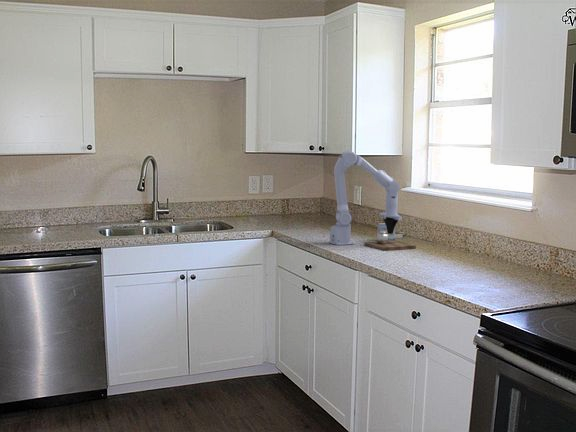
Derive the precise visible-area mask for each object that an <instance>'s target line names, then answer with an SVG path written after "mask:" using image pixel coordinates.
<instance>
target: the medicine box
mask: <svg viewBox="0 0 576 432" xmlns="http://www.w3.org/2000/svg"><path fill="white" fill-rule="evenodd" d="M376 229H377V230H376V231H377V233H376V234H378V233H380V231H385V234H388V232H387V227H386V224H385V222H384V223H380V222H379V223H377V228H376ZM393 234H396V227H395V228H394V231H393ZM393 234H388V235H393ZM390 240H396V238H388V241H390Z"/></svg>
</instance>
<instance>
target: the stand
mask: <svg viewBox="0 0 576 432" xmlns="http://www.w3.org/2000/svg"><path fill="white" fill-rule="evenodd" d="M363 243H364V244H363V245H364V246H365V247H368V248H373V249H375V250H376V249H377V250H380V251H384V252H388V251H389V252H390V251H401V250H415V249H417V248H416V247H417V245H415V244H412V243H407V242H403V241H399V240H396V239H395V240H390V241H388V244H378V243H377V240H376V241H364V242H363Z"/></svg>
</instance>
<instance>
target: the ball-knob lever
mask: <svg viewBox="0 0 576 432" xmlns="http://www.w3.org/2000/svg"><path fill="white" fill-rule="evenodd" d="M376 234H377V233H376ZM376 236H377V237H376V241H377V243H378V244H388V238H395V239H403V238H405V236H406V235H405V234H404V233H397V234H396V233H395V234H393V235H388V234H385V231H380V233H378V234H377V235H376Z"/></svg>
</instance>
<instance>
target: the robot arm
mask: <svg viewBox="0 0 576 432" xmlns="http://www.w3.org/2000/svg"><path fill="white" fill-rule="evenodd" d="M352 166H360V167H361V168H362V169H364V170H365V171H366V172H368V173H369V174H370V175H372V178H373V180H374V181H375V182H376V183H377V184H379V186H381V187H382V188H384V189H385V191H386V192H385V193H386V194H385V206H384V207H385V208H384V210H385V211H384V212H380V214H379V216H380V218H383V222H384V223H385V224H386V227H387V232H388V234H393V231H394V228H395V229H396V225H397V224H398V222H399V221H403V216H402V215H399V213H398V205H399V204H398V203H399V202H398V201H399V191H400V189H401V188H400V184H399V182H397V181H396V180H394V177H392V176H389V175H388V174H387V173H386V171H385V170H382V169H379V170H377V169H376V168H375V167H374V166H373V165H372V164H371V163H369V162H368V161H367V160H365V158H363V157H362V156H360V155H359V154H357V153H355V152H354V151H349V150H346V151H343V152H342V153H341V154H340V155H339V156H338V159H337V161H336V163H335V165H334V167H333V175H334V185H335V194H336V195H335V196H336V213H335V219H336V223H335V225H332V226H331V227H330V230H329V241H328V243H329V244H333V245H337V246H343V245H344V246H345V245H354V242H351V231H352V230H351V227H352V226H351V225H352V224H351V223H352V220H353V219H352V215H351V213H350V208H349V205H348V197H347V188H346V187H347V186H346V176H345V172H346V171H347V170H349V167H352Z"/></svg>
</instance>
